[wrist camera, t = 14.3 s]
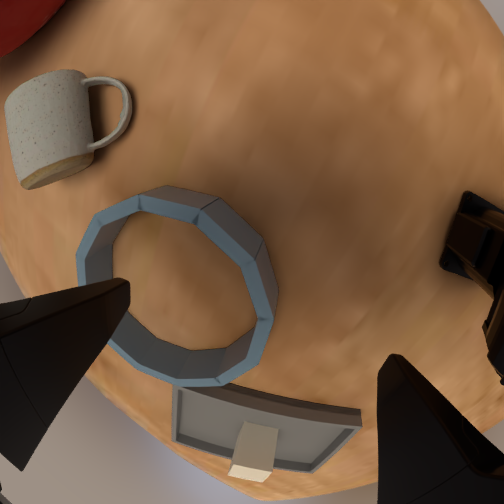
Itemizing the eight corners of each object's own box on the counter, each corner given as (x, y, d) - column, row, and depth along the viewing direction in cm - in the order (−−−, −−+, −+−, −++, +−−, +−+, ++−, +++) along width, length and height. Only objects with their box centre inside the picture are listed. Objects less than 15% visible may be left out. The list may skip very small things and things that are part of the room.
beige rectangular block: (278, 428, 26) (272, 472, 21) (269, 443, 28) (262, 482, 22) (244, 421, 27) (233, 464, 21) (237, 435, 28) (227, 475, 23)
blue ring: (300, 218, 19) (300, 235, 15) (250, 376, 25) (242, 406, 21) (107, 173, 20) (76, 180, 16) (108, 324, 26) (87, 345, 22)
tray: (360, 409, 25) (362, 426, 22) (313, 459, 30) (312, 473, 28) (181, 367, 26) (172, 383, 24) (177, 427, 31) (171, 440, 29)
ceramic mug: (62, 184, 21) (2, 202, 14) (49, 110, 19) (-9, 111, 11) (147, 145, 19) (80, 149, 12) (131, 58, 16) (69, 34, 9)
